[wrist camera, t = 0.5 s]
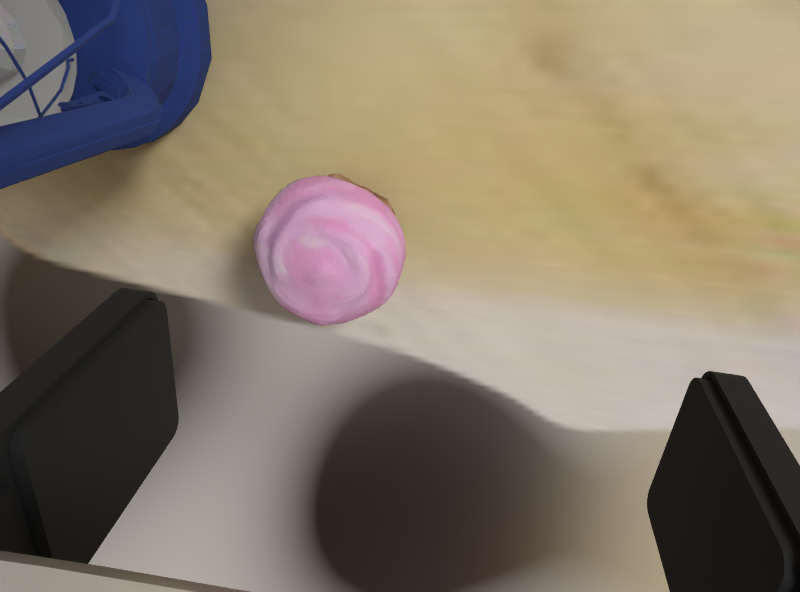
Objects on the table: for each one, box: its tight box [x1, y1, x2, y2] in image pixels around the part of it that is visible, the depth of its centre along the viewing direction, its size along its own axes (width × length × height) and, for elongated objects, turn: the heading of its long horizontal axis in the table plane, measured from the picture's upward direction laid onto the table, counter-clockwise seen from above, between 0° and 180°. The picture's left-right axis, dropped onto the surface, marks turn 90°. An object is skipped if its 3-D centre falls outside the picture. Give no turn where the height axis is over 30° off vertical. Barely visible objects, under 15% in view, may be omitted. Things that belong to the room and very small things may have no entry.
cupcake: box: [253, 174, 406, 325], centre depth 38 cm, size 9×9×10 cm
